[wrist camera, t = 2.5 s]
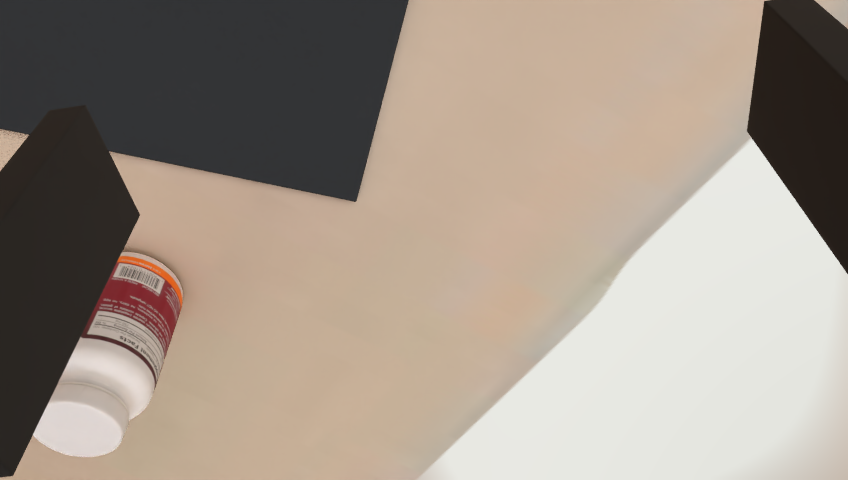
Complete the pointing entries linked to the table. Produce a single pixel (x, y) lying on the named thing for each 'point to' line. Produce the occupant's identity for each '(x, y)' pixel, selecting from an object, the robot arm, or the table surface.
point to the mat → (210, 81)
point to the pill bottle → (114, 360)
